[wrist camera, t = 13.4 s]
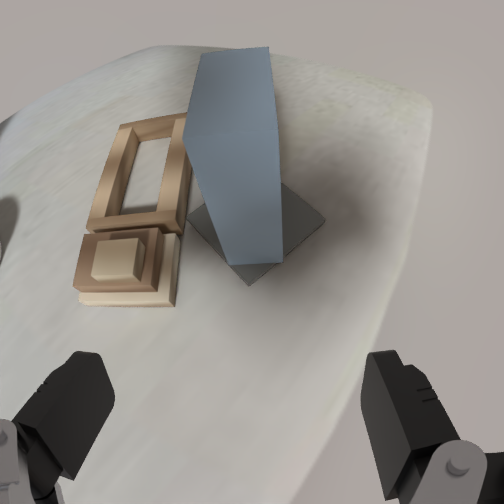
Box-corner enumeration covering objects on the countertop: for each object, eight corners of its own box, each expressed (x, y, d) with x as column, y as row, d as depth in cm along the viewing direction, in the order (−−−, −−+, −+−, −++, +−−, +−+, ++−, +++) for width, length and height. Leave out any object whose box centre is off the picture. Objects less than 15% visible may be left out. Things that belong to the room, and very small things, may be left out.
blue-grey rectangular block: (282, 262, 20) (278, 129, 11) (228, 265, 21) (181, 138, 11) (277, 177, 24) (268, 46, 14) (231, 181, 24) (201, 53, 14)
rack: (176, 306, 20) (156, 286, 17) (85, 305, 21) (57, 287, 18) (197, 127, 28) (189, 97, 25) (127, 138, 28) (114, 112, 25)
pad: (187, 220, 23) (186, 217, 23) (259, 168, 25) (258, 164, 24) (249, 286, 20) (248, 284, 20) (324, 221, 22) (325, 218, 22)
